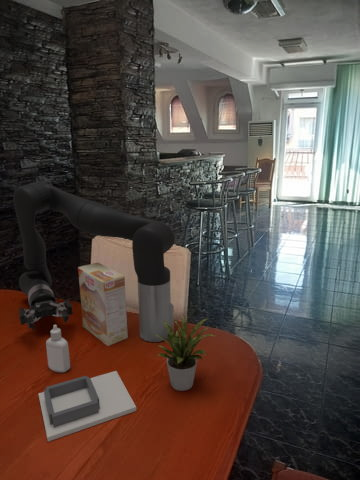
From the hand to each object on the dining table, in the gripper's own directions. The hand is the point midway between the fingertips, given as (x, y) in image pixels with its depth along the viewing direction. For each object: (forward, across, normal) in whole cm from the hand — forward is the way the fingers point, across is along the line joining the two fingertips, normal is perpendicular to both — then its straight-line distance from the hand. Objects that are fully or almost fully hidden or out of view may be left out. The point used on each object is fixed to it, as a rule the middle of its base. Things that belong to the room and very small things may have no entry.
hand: (49, 322), depth 101 cm
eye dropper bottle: (+11, 0, +7) cm, 14 cm away
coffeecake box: (-1, +15, +8) cm, 17 cm away
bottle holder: (+27, +3, +7) cm, 28 cm away
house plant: (+31, +26, +7) cm, 41 cm away
